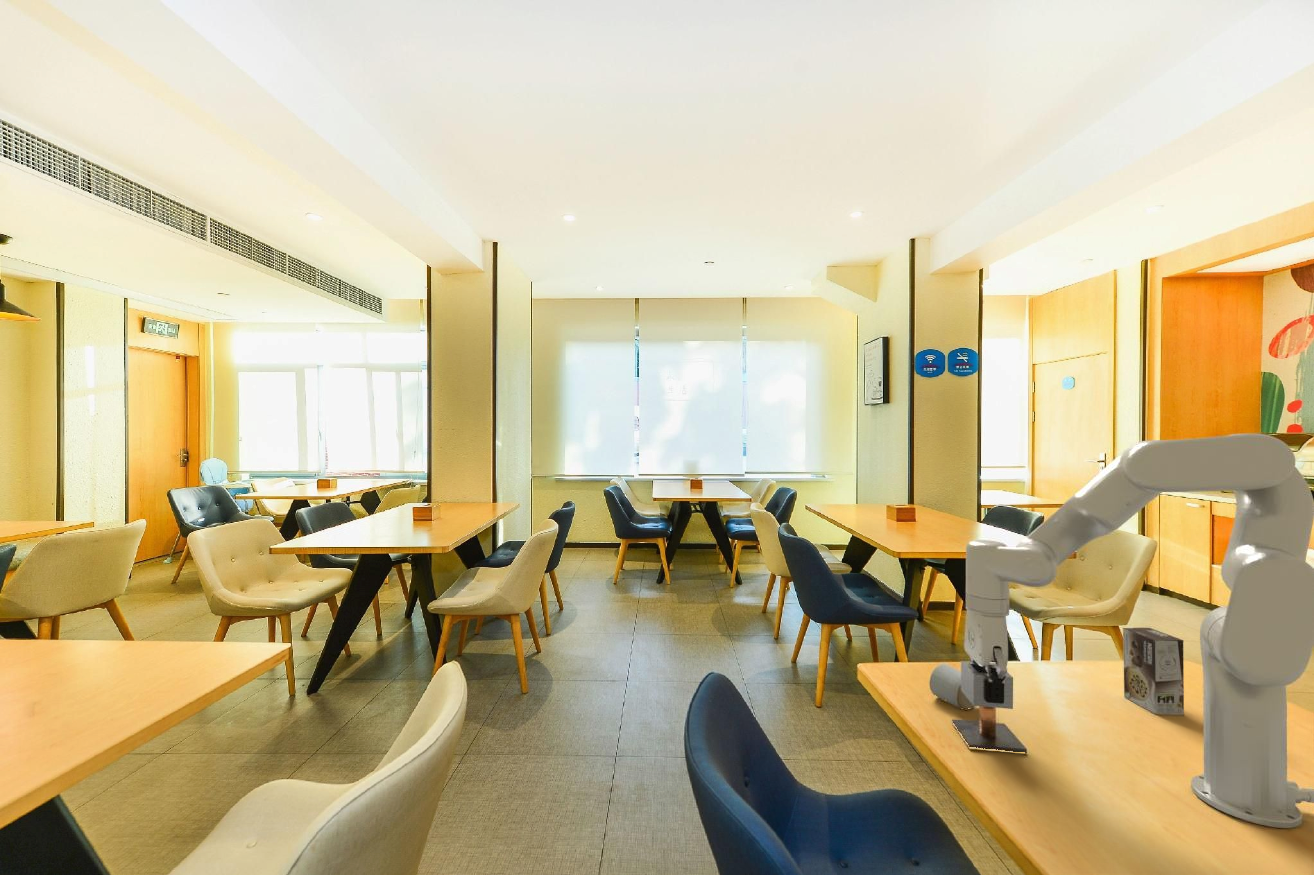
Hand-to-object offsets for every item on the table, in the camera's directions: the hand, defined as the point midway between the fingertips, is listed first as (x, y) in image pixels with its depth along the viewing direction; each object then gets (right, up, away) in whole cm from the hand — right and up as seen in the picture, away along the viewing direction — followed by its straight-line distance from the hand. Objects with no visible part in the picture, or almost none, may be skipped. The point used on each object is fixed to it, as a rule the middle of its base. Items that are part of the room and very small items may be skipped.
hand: (986, 693), depth 114 cm
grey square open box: (0, -1, 0) cm, 1 cm away
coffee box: (+45, -9, +14) cm, 48 cm away
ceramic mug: (+3, -9, +16) cm, 19 cm away
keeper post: (0, -9, 0) cm, 9 cm away
